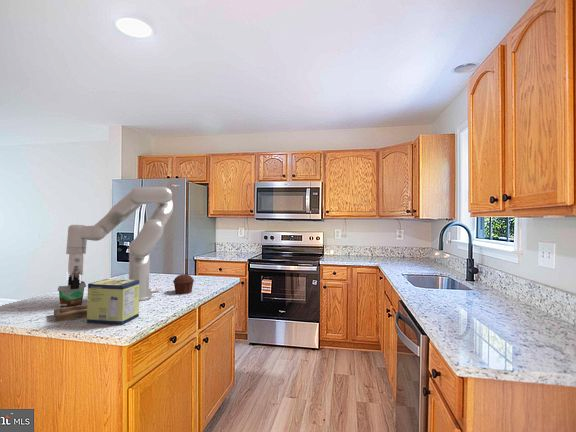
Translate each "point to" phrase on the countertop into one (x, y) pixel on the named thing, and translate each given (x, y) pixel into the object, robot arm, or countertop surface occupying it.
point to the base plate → (70, 313)
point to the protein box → (113, 301)
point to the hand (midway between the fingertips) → (73, 286)
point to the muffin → (183, 284)
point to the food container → (71, 295)
